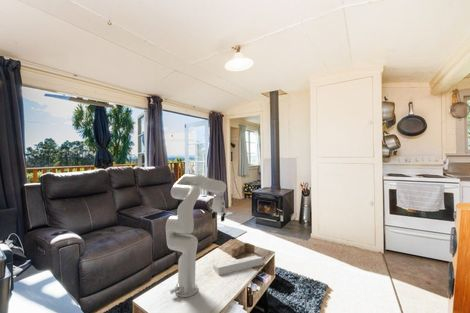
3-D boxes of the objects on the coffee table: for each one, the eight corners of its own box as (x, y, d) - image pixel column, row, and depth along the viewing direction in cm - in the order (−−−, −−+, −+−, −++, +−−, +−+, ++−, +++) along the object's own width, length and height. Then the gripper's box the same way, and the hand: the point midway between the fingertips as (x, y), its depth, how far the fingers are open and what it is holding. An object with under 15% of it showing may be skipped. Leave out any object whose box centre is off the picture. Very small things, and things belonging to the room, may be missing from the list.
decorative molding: (213, 272, 145) (218, 276, 136) (213, 264, 146) (218, 267, 137) (256, 262, 160) (263, 265, 151) (255, 255, 161) (262, 257, 152)
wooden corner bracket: (240, 260, 156) (240, 252, 156) (232, 256, 161) (232, 249, 161) (254, 252, 169) (254, 245, 169) (245, 249, 174) (246, 242, 174)
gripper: (230, 198, 158) (229, 221, 158) (214, 194, 169) (213, 216, 169) (223, 199, 152) (222, 223, 152) (207, 196, 164) (206, 218, 164)
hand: (218, 219), depth 161 cm, fingers open, 9 cm apart
